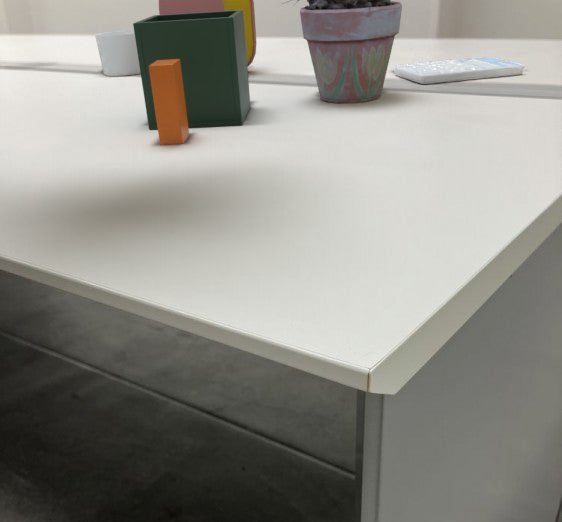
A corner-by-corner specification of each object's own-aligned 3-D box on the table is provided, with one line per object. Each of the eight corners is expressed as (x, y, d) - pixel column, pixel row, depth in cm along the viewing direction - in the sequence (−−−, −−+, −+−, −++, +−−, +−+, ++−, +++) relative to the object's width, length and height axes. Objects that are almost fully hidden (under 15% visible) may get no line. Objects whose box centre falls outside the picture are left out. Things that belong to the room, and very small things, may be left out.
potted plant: (295, 89, 121) (288, -79, 108) (407, 86, 117) (413, -89, 104) (275, 110, 106) (264, -83, 93) (403, 106, 102) (410, -94, 89)
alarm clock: (261, 71, 142) (254, -37, 132) (224, 79, 135) (214, -34, 125) (200, 67, 153) (189, -34, 143) (163, 74, 146) (149, -31, 136)
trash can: (149, 129, 99) (132, 23, 92) (167, 111, 110) (153, 15, 103) (242, 125, 98) (233, 17, 91) (250, 107, 109) (243, 9, 102)
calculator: (392, 75, 128) (392, 64, 127) (489, 65, 132) (490, 54, 131) (421, 85, 117) (421, 73, 116) (526, 74, 121) (527, 62, 120)
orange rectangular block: (160, 150, 88) (148, 65, 82) (168, 141, 92) (156, 60, 87) (183, 149, 87) (172, 64, 82) (190, 140, 92) (180, 58, 86)
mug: (133, 76, 146) (127, 34, 142) (92, 76, 150) (85, 35, 146) (164, 67, 157) (159, 27, 153) (125, 67, 160) (119, 29, 156)
